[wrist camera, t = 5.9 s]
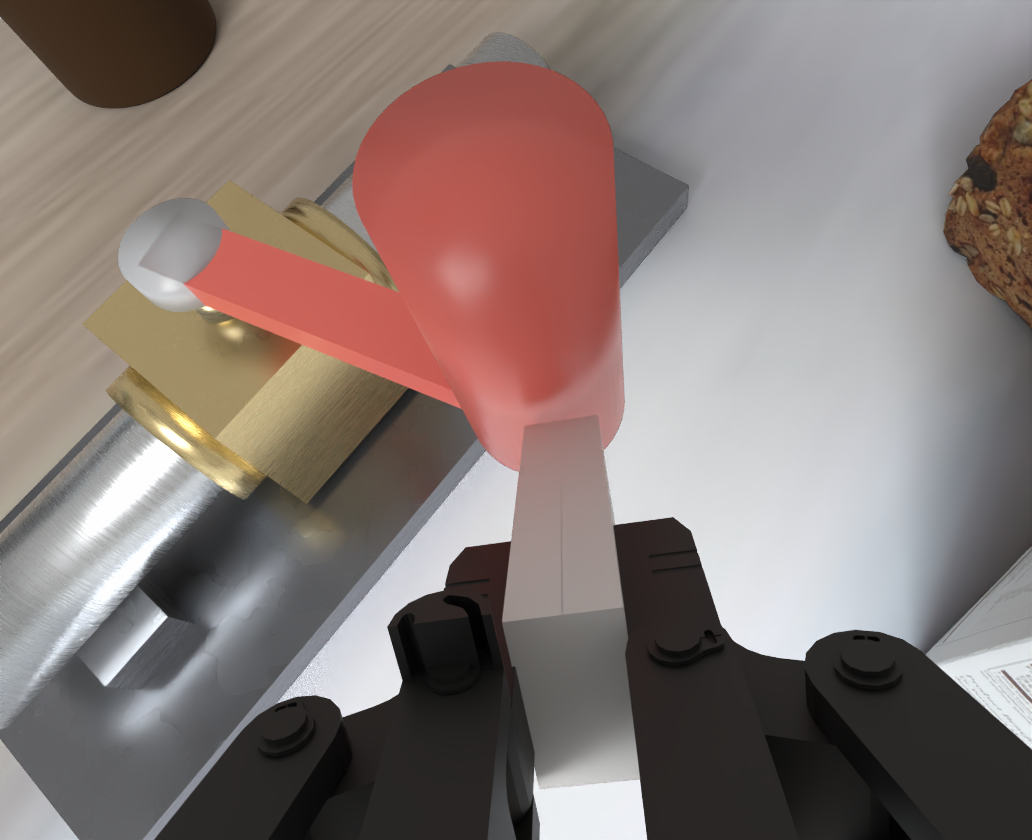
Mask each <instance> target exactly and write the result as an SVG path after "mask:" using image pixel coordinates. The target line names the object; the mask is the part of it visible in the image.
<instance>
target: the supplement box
mask: <svg viewBox="0 0 1032 840" xmlns="http://www.w3.org/2000/svg"><path fill="white" fill-rule="evenodd" d="M925 655H926V656H927V657H928V658H930V659H931V660H932V661H933V662H934V663H935V664H936V665H937V666H939V667H940V668H941V669H942V670H943V671H944V672H945V673H946V674H948V675H949V676H950V677H951V678H952V679H953V680H954V681H955V682H957V683H958V684H959V685H960V686H961V687H962V688H963V689H964V690H966V691H967V692H968V693H969V694H970V695H971V696H972V697H973V698H975V699H976V700H977V701H978V702H979V703H980V704H981V705H982V706H984V707H985V708H986V709H987V710H988V711H989V712H990V713H991V714H993V715H994V716H995V717H996V718H997V719H998V720H999V721H1000V722H1002V723H1003V724H1004V725H1005V726H1006V727H1007V728H1008V729H1009V730H1011V731H1012V732H1013V733H1014V734H1015V735H1016V736H1017V737H1018V738H1020V739H1021V740H1022V741H1023V742H1024V743H1025V744H1026V745H1027V746H1029V747H1030V748H1031V749H1032V546H1031V547H1030V548H1029V549H1028V550H1027V551H1026V552H1025V553H1024V554H1023V555H1022V556H1021V557H1020V558H1019V559H1018V560H1017V561H1016V562H1015V563H1014V564H1013V566H1012V567H1011V568H1010V569H1009V570H1008V571H1007V572H1006V573H1005V574H1004V575H1003V576H1002V577H1001V578H1000V579H999V580H998V581H997V582H996V583H995V584H994V585H993V586H992V587H991V588H990V589H989V590H988V591H987V592H986V593H985V595H984V596H983V597H982V598H981V599H980V600H979V601H978V602H977V603H976V604H975V605H974V606H973V607H972V608H971V609H970V610H969V611H968V612H967V613H966V614H965V615H964V616H963V617H962V618H961V619H960V620H959V621H958V622H957V623H956V624H955V625H954V626H953V627H952V628H951V629H950V630H949V631H948V632H947V633H946V634H945V635H944V636H943V637H942V638H941V639H940V640H939V641H938V642H937V643H936V644H935V645H934V646H933V647H932V648H931V649H930V650H929V651H928V652H927V653H926V654H925Z"/></svg>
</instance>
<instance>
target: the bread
mask: <svg viewBox="0 0 1032 840" xmlns="http://www.w3.org/2000/svg"><path fill="white" fill-rule="evenodd" d="M966 161H967V164H968V168H969V169H968V170H967V171H966V172H965V173H964V174H963V175H962V176H961V177H960V178H959V179H958V180H957V181H956V182H955V184H954V186H953V187H952V189H951V190H950V192H949V193H948V194H949V195H950V196H952V197H953V199H952V201H951V202H950V204H949V206H948V208H947V209H948V210H947V212H946V214H945V223H944V230H943V232H944V234H945V237H946V239H947V241H948V244H949V246H950V247H951V248H952V249H953V250H954V251H955V252H957V253H959V254H961V255H963V256H966V257H968V259H967V263H968V266H969V268H970V270H971V271H972V273H973V275H974V277H975V279H976V280H977V281H978V283H980V284H981V285H982V286H983V287H984V288H985V289H986V290H987V291H988V292H989V293H991V294H993V295H995V296H997V297H999V298H1001V299H1003V300H1005V301H1006V302H1007V303H1008V305H1009V306H1010V307H1011V308H1012V309H1013V310H1014V311H1015V312H1016V313H1017V314H1018V315H1019V316H1020V317H1021V318H1022V319H1023V320H1024V321H1025V322H1026V323H1027V324H1028V326H1029V327H1030V328H1031V329H1032V80H1030V81H1029V82H1028V83H1026V84H1025V85H1023V86H1021V87H1020V88H1018V89H1017V90H1015V92H1014V93H1013V95H1012V97H1011V99H1010V100H1009V101H1008V102H1007V103H1006V104H1005V105H1004V106H1002V107H1001V108H1000V109H999V110H998V111H997V112H996V113H995V114H994V115H993V117H992V119H991V120H990V122H989V123H988V125H987V127H986V128H985V130H984V131H983V133H982V134H981V136H980V145H976V147H975V148H974V149H973V151H972V152H971V153H970V155H969V156H968V157H967V158H966Z"/></svg>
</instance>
